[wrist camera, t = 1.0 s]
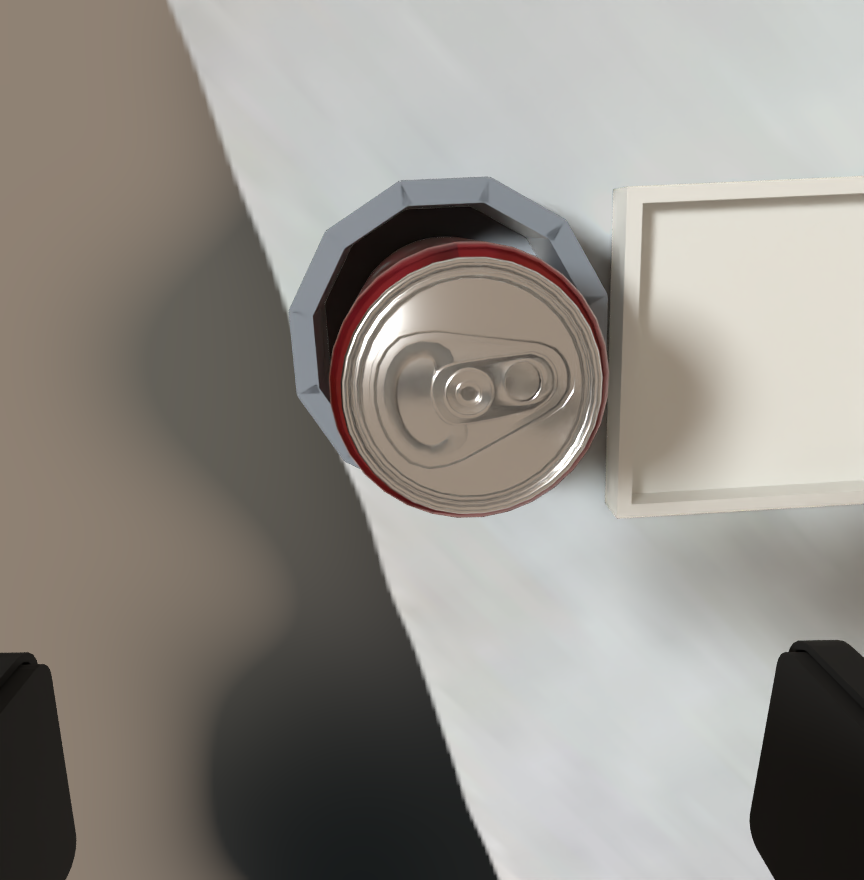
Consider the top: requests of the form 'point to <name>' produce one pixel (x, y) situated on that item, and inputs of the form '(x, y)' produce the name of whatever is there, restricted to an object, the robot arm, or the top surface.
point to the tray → (736, 347)
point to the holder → (480, 193)
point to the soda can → (468, 377)
